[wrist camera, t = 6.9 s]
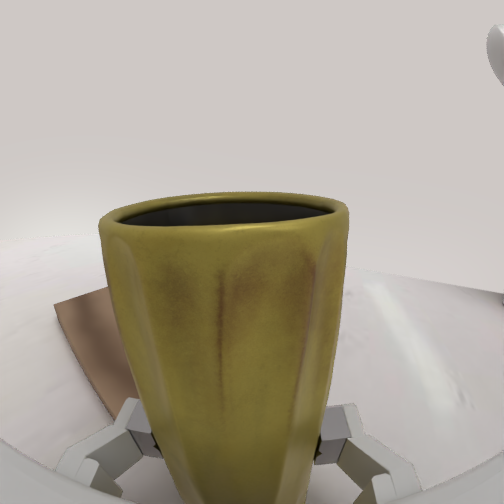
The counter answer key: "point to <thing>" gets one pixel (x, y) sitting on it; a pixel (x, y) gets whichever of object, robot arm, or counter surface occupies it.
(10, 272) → the counter surface
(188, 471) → the vase
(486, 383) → the counter surface
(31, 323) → the counter surface
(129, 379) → the socket
